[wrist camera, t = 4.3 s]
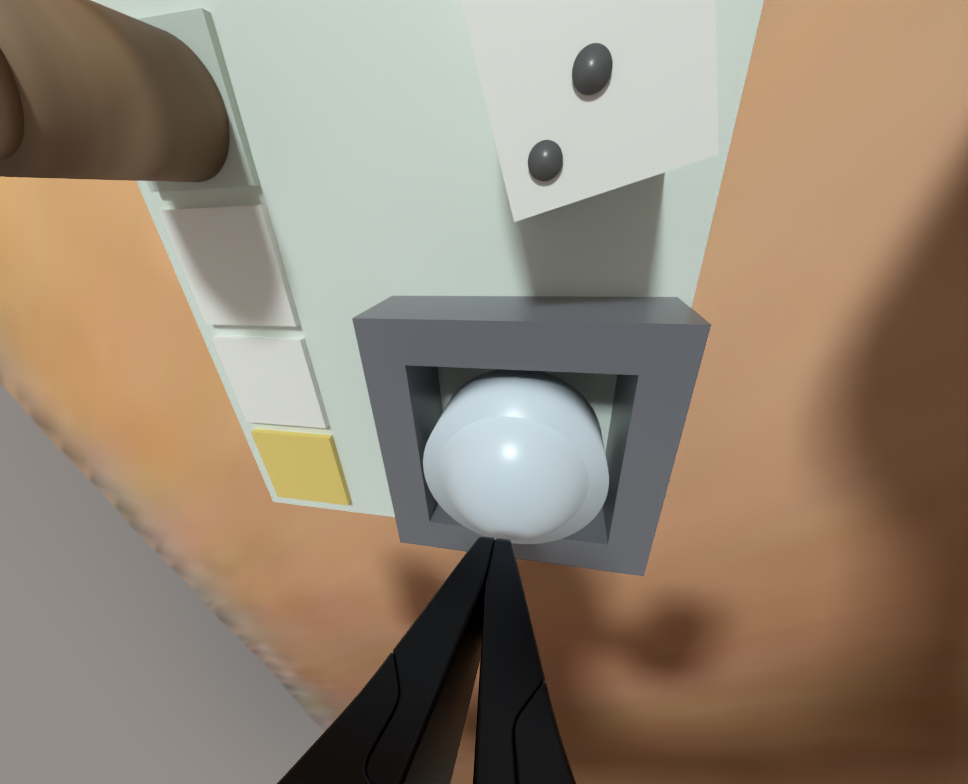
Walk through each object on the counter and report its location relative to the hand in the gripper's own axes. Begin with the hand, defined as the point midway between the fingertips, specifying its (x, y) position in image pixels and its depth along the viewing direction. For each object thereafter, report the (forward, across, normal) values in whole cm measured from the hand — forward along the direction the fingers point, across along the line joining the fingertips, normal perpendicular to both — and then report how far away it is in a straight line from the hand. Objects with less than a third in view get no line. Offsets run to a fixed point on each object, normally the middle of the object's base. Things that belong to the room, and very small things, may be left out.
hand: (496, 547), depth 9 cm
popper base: (+6, 0, 0) cm, 6 cm away
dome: (+6, 0, 0) cm, 6 cm away
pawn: (+6, +11, -11) cm, 17 cm away
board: (+8, +4, -4) cm, 10 cm away
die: (+6, -2, -10) cm, 12 cm away
